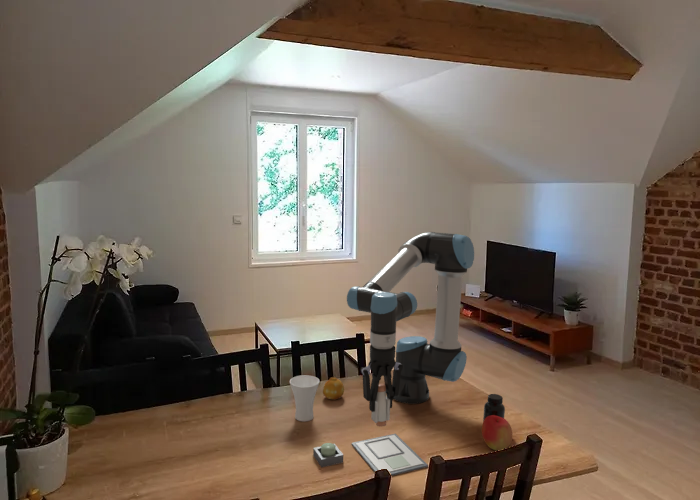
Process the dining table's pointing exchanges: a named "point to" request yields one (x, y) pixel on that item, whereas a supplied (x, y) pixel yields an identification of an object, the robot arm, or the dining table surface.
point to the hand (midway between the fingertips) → (380, 419)
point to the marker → (381, 405)
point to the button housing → (327, 460)
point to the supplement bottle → (494, 406)
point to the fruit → (333, 388)
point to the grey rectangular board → (389, 454)
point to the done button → (328, 449)
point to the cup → (304, 395)
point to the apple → (496, 432)
